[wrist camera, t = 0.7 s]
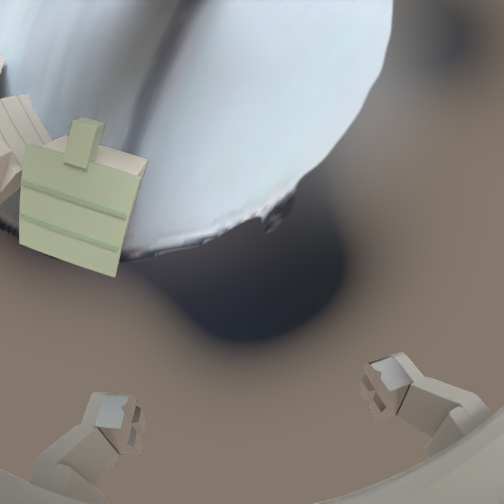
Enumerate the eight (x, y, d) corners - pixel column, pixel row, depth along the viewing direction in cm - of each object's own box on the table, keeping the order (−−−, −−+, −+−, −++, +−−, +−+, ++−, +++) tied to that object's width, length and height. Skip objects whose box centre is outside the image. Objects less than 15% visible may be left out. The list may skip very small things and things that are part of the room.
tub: (65, 134, 39) (32, 150, 29) (148, 159, 45) (133, 181, 36) (52, 208, 46) (25, 237, 36) (126, 232, 52) (111, 267, 43)
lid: (41, 107, 27) (29, 110, 24) (156, 138, 34) (151, 143, 31) (25, 236, 37) (16, 246, 35) (118, 268, 45) (113, 281, 42)
